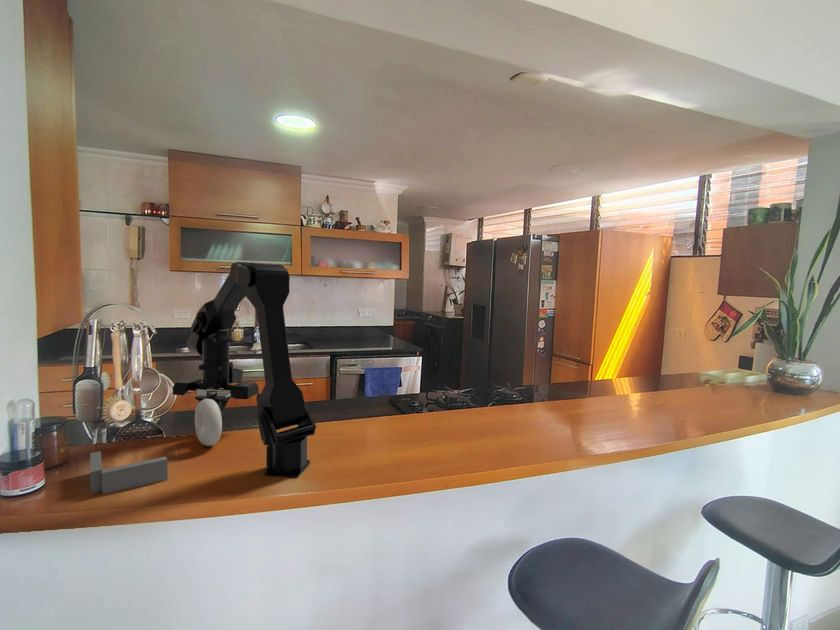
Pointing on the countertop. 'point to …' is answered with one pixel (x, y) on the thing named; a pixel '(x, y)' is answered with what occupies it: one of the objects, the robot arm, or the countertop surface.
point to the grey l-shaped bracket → (125, 474)
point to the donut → (208, 422)
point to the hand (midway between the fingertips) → (216, 423)
